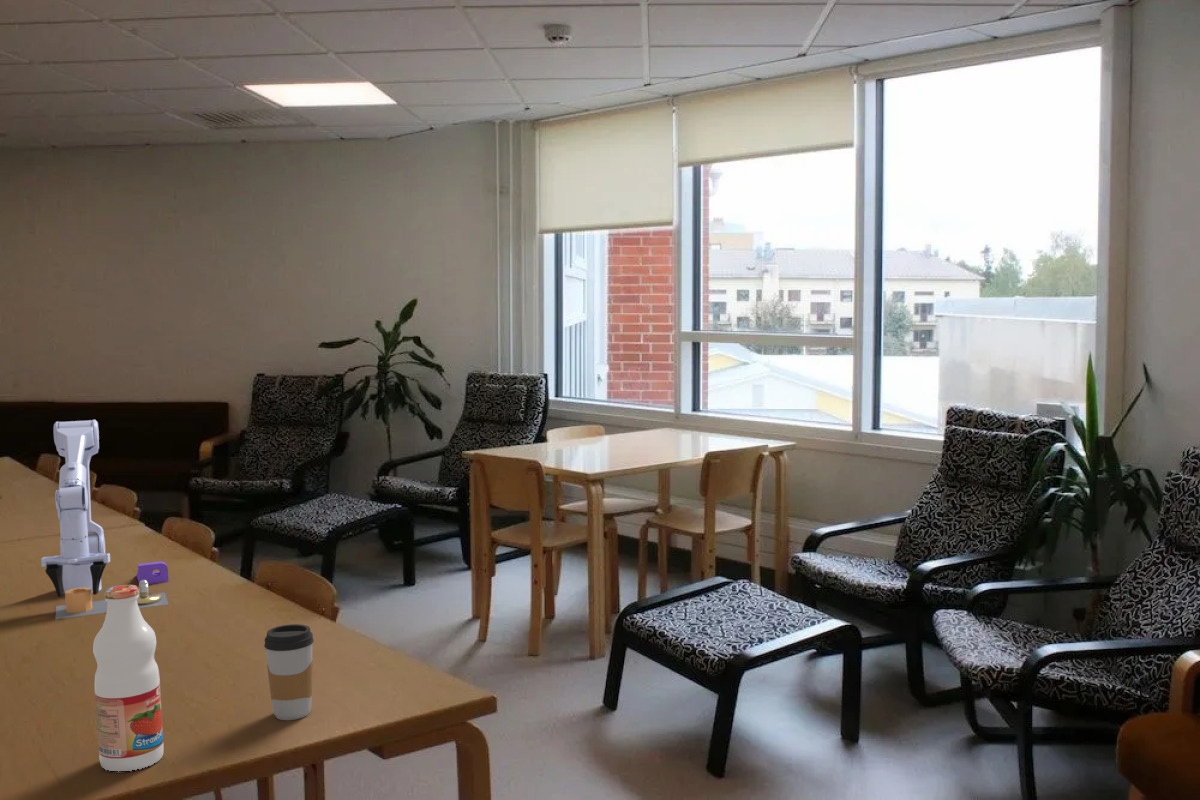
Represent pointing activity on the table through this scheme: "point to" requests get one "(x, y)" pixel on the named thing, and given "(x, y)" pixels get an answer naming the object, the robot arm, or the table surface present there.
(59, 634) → the table surface
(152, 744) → the fruit juice
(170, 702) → the table surface
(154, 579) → the bracket
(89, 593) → the sleeve
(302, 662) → the coffee cup
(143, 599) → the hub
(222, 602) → the table surface
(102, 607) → the board
